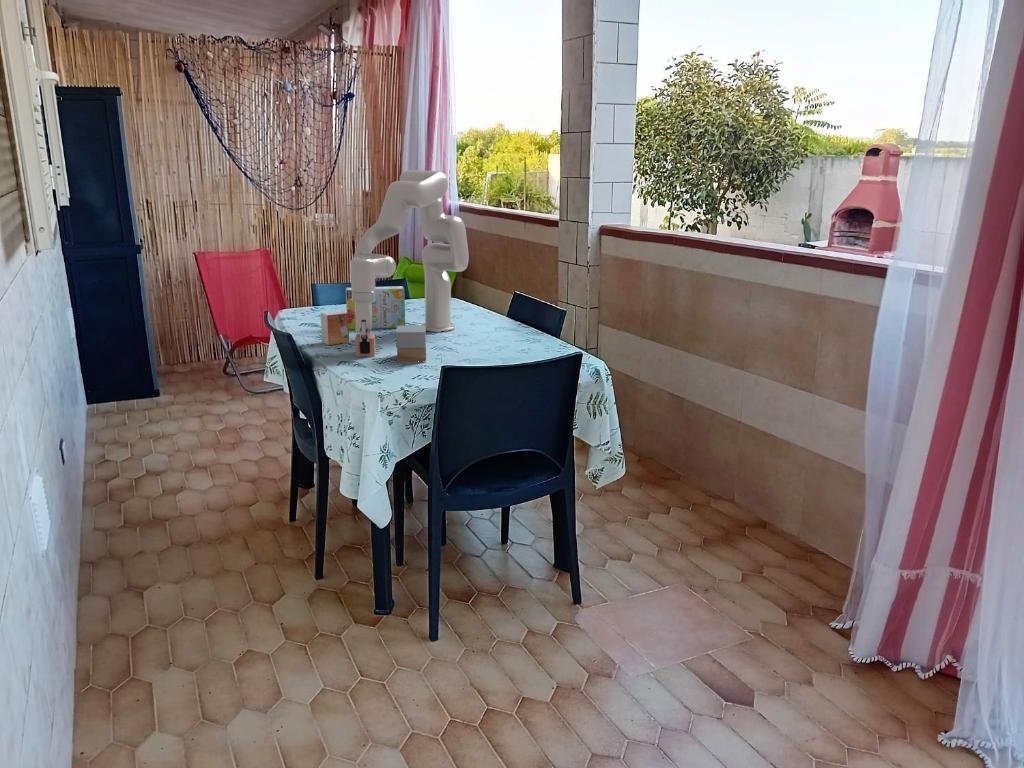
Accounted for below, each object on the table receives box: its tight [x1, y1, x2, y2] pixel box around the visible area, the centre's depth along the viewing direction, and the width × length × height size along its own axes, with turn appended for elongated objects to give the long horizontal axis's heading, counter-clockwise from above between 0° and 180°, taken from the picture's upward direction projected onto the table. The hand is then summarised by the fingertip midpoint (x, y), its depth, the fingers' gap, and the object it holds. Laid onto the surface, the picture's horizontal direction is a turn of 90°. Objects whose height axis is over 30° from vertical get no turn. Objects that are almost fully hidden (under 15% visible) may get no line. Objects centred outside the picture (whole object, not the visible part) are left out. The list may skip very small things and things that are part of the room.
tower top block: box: [395, 325, 427, 349], centre depth 247 cm, size 9×9×5 cm
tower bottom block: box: [396, 343, 427, 363], centre depth 248 cm, size 9×9×5 cm
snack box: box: [345, 285, 406, 330], centre depth 288 cm, size 21×6×15 cm, turn 104°
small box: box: [320, 310, 350, 346], centre depth 265 cm, size 8×6×10 cm
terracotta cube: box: [354, 333, 376, 357], centre depth 252 cm, size 6×6×6 cm
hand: (365, 350), depth 253 cm, fingers closed on terracotta cube, 6 cm apart
